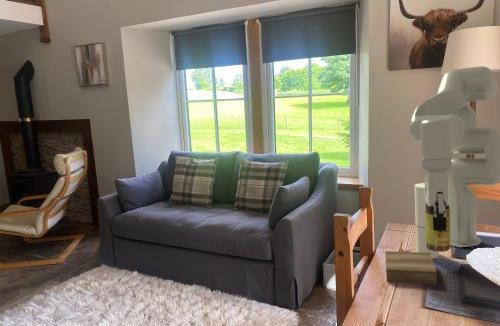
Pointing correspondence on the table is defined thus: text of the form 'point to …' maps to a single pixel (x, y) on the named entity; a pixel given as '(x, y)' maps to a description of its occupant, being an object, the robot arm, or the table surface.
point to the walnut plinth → (410, 267)
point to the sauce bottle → (437, 238)
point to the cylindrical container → (421, 221)
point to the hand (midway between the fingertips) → (437, 225)
